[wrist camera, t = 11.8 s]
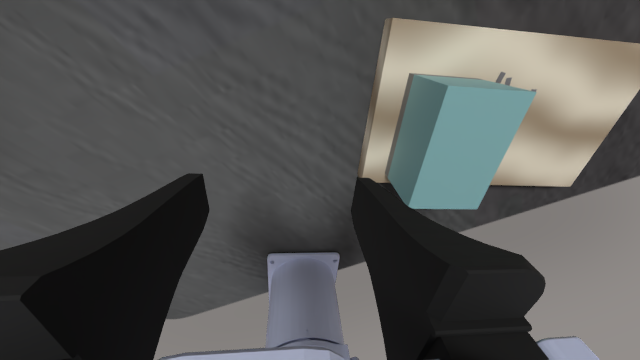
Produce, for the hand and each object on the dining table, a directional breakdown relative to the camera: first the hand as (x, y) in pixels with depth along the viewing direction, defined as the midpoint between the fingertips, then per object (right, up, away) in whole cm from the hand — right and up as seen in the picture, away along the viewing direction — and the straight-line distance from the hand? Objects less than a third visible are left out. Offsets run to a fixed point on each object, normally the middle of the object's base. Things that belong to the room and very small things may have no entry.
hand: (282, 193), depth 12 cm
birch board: (+16, +6, +9) cm, 20 cm away
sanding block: (+10, +5, +8) cm, 14 cm away
